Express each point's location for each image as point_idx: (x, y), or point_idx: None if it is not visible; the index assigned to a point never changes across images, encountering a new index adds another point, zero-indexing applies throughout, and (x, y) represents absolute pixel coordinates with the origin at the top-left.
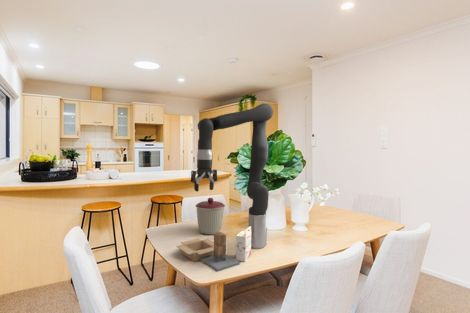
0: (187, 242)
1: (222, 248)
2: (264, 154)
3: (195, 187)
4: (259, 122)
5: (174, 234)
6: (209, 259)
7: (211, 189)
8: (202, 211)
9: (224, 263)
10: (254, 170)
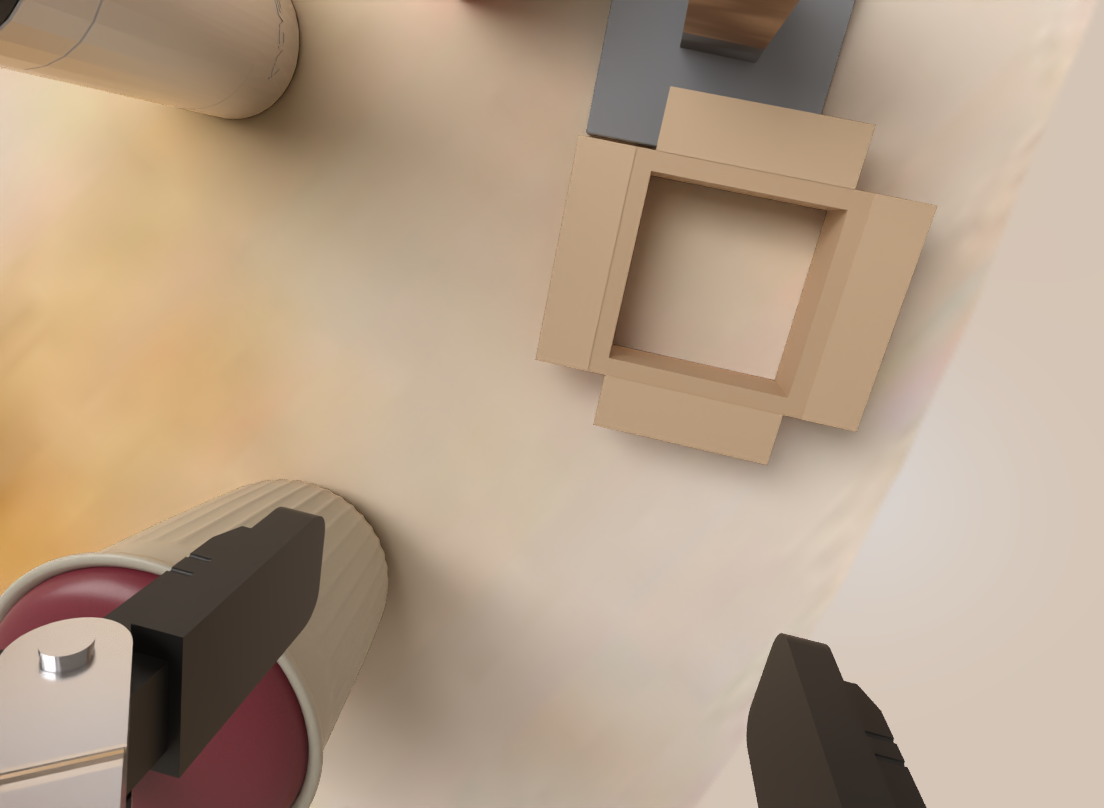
0: (727, 423)
1: None
2: None
3: (897, 775)
4: None
5: (551, 713)
6: (778, 89)
7: (316, 528)
8: (317, 679)
9: None
10: None
